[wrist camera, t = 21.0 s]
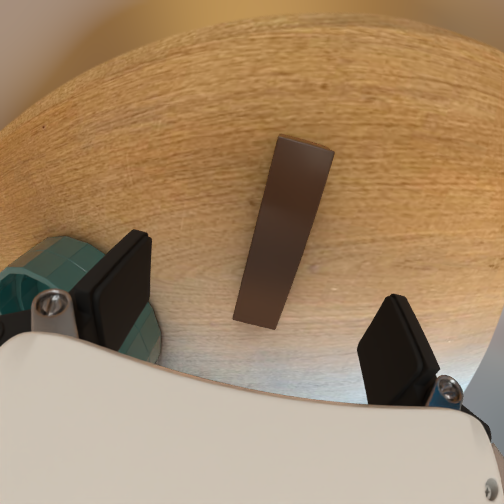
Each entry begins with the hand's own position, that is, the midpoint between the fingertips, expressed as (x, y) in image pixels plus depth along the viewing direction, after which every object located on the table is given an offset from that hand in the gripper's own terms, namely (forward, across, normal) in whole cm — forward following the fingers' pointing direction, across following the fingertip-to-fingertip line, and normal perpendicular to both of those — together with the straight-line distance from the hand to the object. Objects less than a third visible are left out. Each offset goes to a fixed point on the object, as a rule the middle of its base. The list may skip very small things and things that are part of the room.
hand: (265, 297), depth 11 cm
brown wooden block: (+10, -1, +1) cm, 10 cm away
